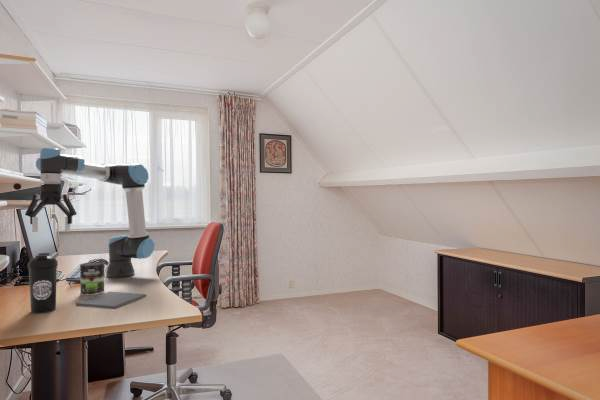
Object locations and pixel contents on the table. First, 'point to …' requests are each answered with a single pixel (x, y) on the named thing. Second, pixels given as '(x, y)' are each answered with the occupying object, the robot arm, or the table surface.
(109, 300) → the rubber mat
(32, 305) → the water bottle
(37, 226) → the robot arm
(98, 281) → the coffee can
